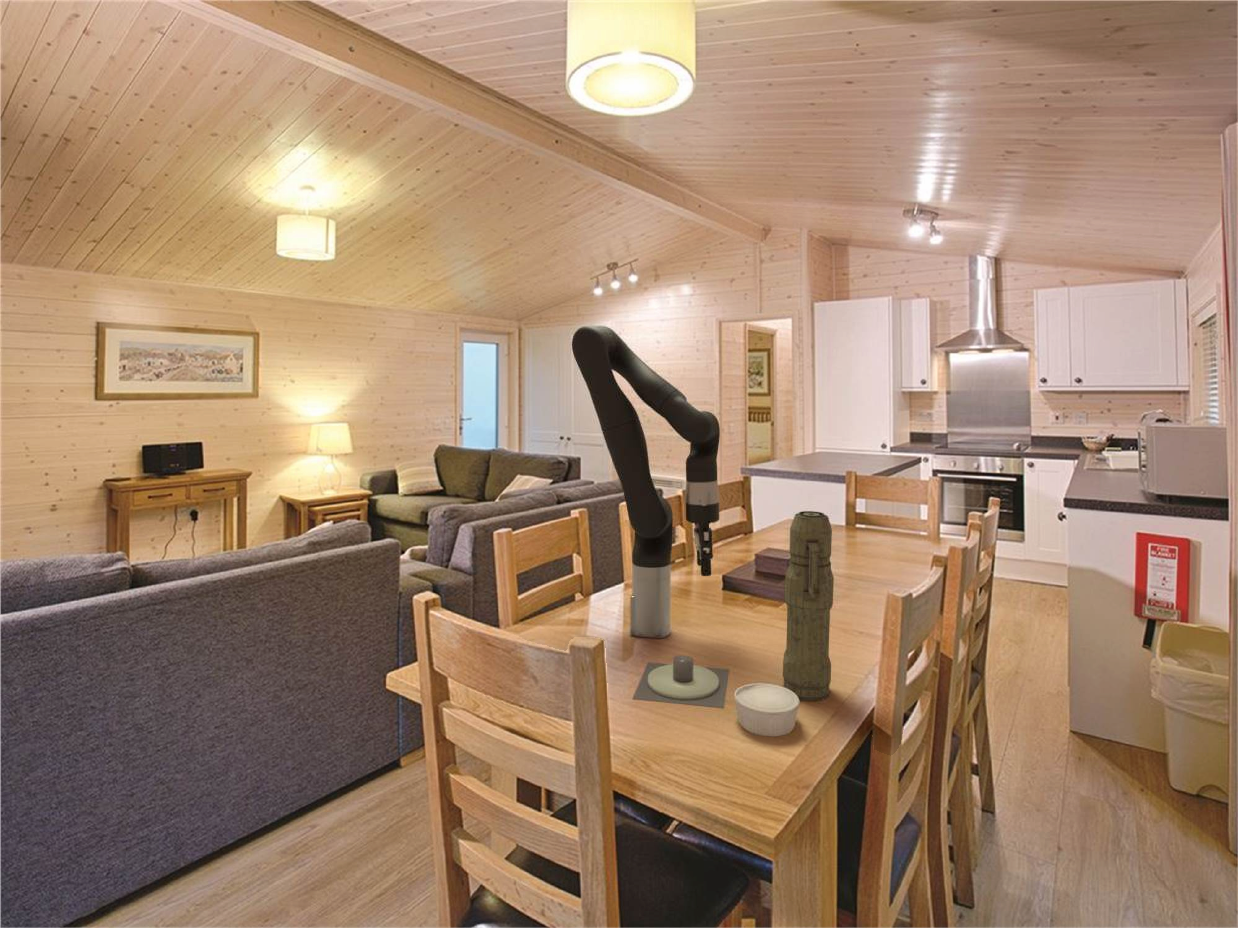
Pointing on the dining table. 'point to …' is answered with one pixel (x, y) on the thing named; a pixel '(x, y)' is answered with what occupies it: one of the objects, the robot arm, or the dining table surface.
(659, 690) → the lid
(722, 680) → the mat
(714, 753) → the dining table surface
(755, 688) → the ramekin
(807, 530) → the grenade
